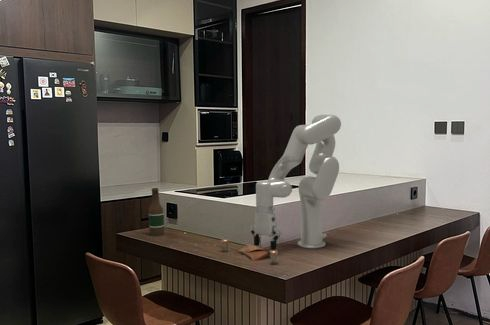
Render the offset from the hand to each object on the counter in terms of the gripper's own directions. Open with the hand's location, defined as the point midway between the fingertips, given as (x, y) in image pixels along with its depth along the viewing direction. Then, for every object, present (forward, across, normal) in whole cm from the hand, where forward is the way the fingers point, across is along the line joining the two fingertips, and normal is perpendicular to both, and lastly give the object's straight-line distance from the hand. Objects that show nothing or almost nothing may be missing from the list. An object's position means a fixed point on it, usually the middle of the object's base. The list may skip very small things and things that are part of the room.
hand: (265, 247), depth 211 cm
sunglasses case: (+3, +1, +7) cm, 8 cm away
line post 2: (+2, -14, +11) cm, 18 cm away
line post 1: (+2, +14, +11) cm, 18 cm away
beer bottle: (+2, +64, +12) cm, 65 cm away
